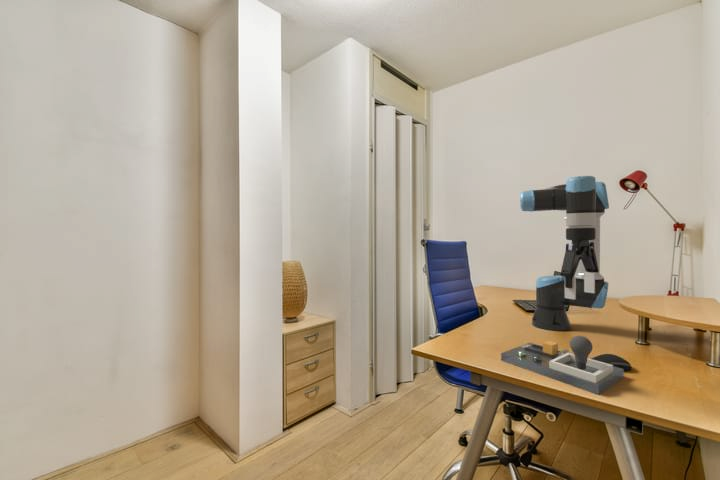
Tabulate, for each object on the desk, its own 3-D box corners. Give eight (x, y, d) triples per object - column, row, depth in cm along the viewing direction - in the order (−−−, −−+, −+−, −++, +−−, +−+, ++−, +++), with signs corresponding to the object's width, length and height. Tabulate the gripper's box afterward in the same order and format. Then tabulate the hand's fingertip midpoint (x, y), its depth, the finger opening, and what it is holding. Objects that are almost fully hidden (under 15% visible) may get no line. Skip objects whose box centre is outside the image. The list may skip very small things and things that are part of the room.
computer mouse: (581, 362, 106) (581, 350, 106) (622, 364, 104) (622, 352, 104) (594, 371, 99) (594, 358, 99) (637, 373, 97) (637, 360, 97)
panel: (529, 349, 117) (529, 337, 117) (623, 377, 94) (623, 362, 94) (501, 360, 107) (501, 347, 107) (598, 394, 84) (598, 378, 84)
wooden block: (548, 350, 109) (548, 340, 109) (558, 353, 106) (558, 343, 106) (542, 353, 107) (542, 342, 107) (552, 356, 104) (552, 345, 104)
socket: (567, 358, 102) (567, 352, 102) (613, 372, 92) (613, 365, 92) (549, 367, 95) (549, 361, 95) (595, 383, 85) (595, 375, 85)
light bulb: (596, 370, 93) (595, 336, 93) (587, 375, 90) (587, 340, 90) (575, 364, 98) (574, 332, 98) (566, 368, 95) (566, 335, 95)
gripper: (584, 226, 107) (583, 288, 108) (547, 228, 94) (547, 299, 94) (610, 226, 101) (610, 291, 102) (575, 227, 87) (575, 303, 88)
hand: (580, 295), depth 98 cm, fingers open, 13 cm apart
